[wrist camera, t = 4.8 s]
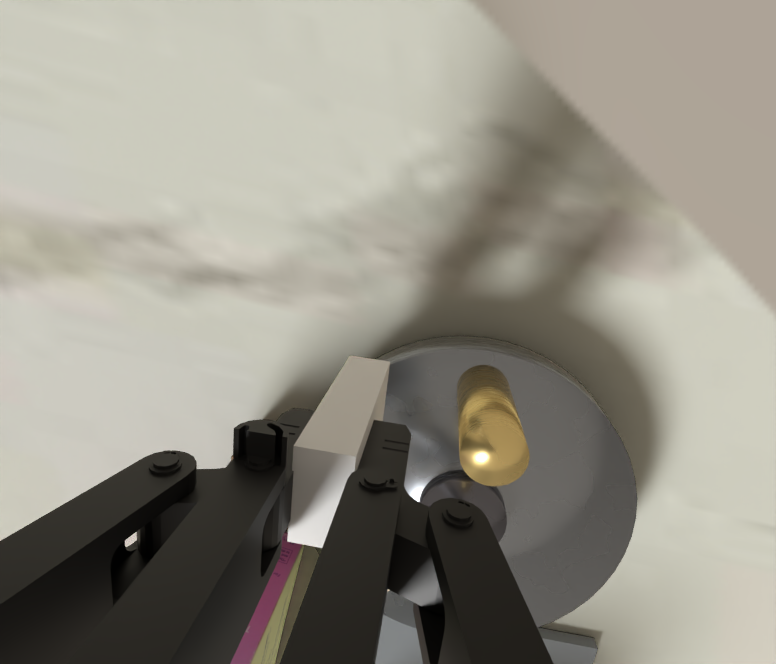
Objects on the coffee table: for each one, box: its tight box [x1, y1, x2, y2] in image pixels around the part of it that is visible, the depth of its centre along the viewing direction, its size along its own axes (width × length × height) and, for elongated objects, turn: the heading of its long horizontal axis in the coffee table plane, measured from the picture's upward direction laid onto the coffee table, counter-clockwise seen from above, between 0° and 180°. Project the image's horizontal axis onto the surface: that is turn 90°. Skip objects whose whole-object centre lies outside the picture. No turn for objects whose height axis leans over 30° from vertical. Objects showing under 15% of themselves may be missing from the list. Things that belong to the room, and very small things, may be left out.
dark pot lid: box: [316, 336, 637, 628], centre depth 19 cm, size 14×14×7 cm
